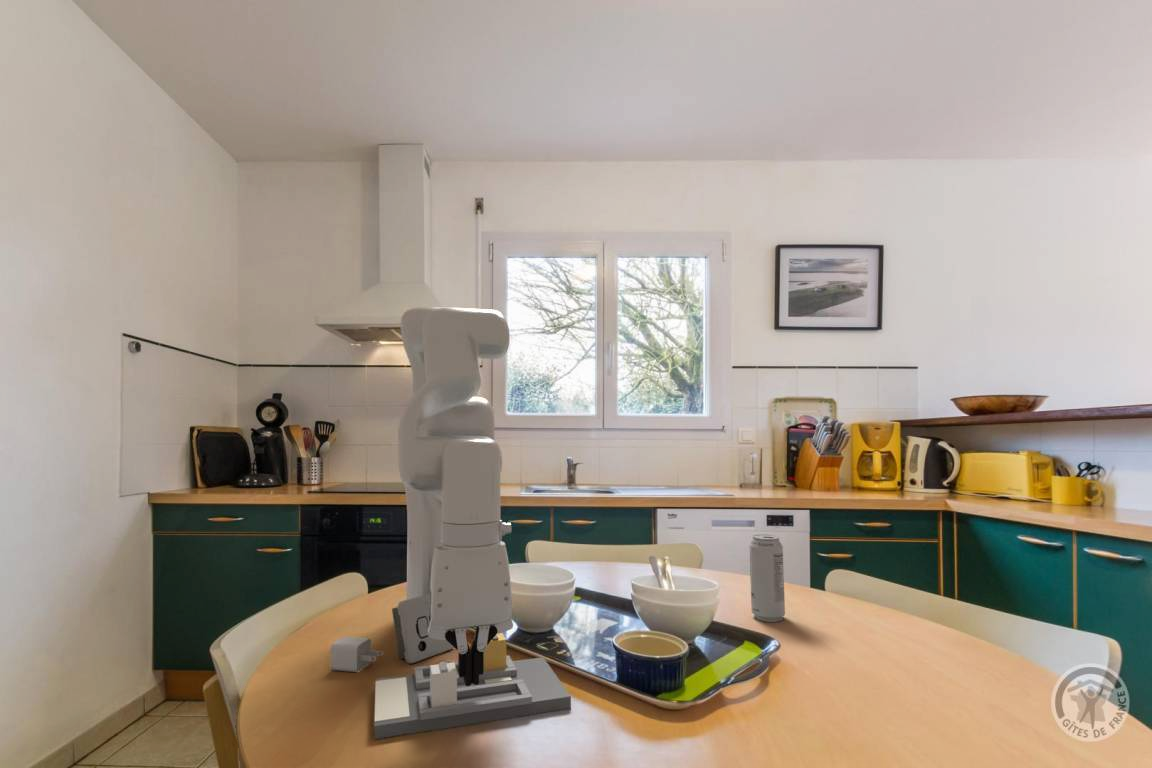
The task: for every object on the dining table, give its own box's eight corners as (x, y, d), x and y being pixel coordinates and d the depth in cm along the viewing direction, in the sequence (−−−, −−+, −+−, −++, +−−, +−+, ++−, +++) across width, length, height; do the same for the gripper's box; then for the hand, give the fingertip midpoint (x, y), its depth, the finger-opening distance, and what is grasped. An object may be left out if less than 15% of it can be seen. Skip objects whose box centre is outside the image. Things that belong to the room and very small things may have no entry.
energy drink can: (757, 610, 117) (755, 532, 119) (789, 616, 114) (786, 535, 115) (747, 619, 113) (744, 537, 114) (779, 624, 109) (776, 540, 110)
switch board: (375, 689, 84) (375, 672, 84) (542, 666, 91) (542, 651, 91) (374, 740, 70) (374, 720, 70) (571, 709, 77) (571, 690, 77)
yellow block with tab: (481, 667, 87) (481, 633, 87) (502, 664, 88) (502, 630, 88) (485, 675, 84) (485, 639, 85) (506, 672, 85) (506, 637, 85)
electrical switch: (409, 666, 92) (406, 603, 93) (389, 662, 95) (387, 601, 96) (457, 648, 99) (454, 590, 100) (437, 645, 102) (434, 588, 104)
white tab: (429, 702, 76) (430, 662, 76) (454, 698, 77) (454, 659, 77) (431, 712, 73) (432, 672, 74) (456, 708, 74) (457, 668, 74)
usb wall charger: (345, 661, 94) (346, 635, 94) (386, 664, 93) (386, 638, 93) (330, 671, 90) (330, 644, 90) (372, 675, 89) (372, 647, 89)
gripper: (521, 526, 84) (521, 663, 82) (409, 533, 79) (408, 678, 78) (534, 535, 76) (535, 685, 75) (412, 543, 72) (411, 703, 70)
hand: (470, 681), depth 76 cm, fingers closed
